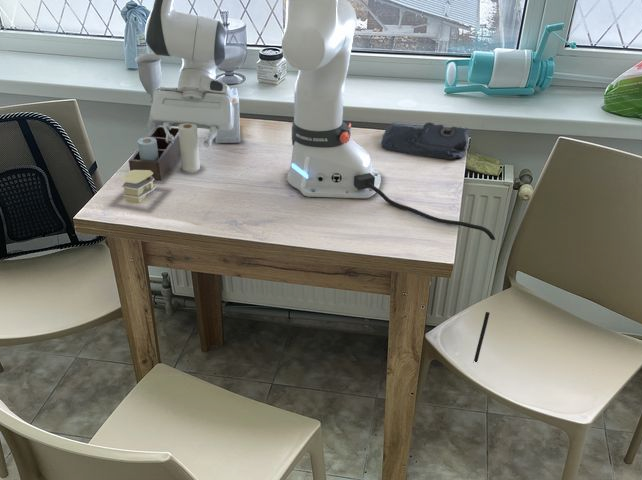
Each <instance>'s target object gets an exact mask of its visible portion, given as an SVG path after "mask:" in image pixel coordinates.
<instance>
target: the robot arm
mask: <svg viewBox="0 0 642 480" xmlns="http://www.w3.org/2000/svg"><path fill="white" fill-rule="evenodd" d="M173 3H174V0H154V3H153V6H152V9H151V11H150V13H149V14H148V17H147V20H146V22H145V28H144V38H145V43H146V45H147V46H148V47H149V49H150V50H151V52H153V54H156V55H160V56H161V57H162V56H164V57H175V58H179V59H181V61H182V64H181V68H180V69H179V73H178V80H177V81H178V82H177V86H163V85H162V86H160V87H159V88H158V89H156V90H155V91H154V94H153V103H151V107H150V111H149V119H150V118H151V120H152V121H153V123H154V124H155V125H162V126H163V128H164V130H165V133H166V142H167V143H171V144H173V142H174V141H173V140H174V136H173V135H172V134H170V133H169V130H171V127H178V126H179V125H180V124H183V123H193V124H196V125H197V129H200V130H201V129H202V130H210V133H209V135H208V136H204V138H203V140H204V141H203V146H204V147H210V148H211V147H212V144H213V140H214V139H215V136H216V135H217V134H218V130H226V131H230V130H231V129H232V128H233V125H234V108H233V105H232V103H231V102H232V99H233V97H232V93H231V90H230V89H231V88H230V87H229V86H228V84H227V83H225V82H222V81H219V80H218V79H217V75H216V72H217V71H216V70H217V67H218V66H220V65H221V64H222V62H224V61H225V59H226V58H225V57H226V52H225V51H226V47H227V43H228V37H229V34H228V31H227V29H226V27H225V26H224V24H223V23H222V21H220V20H218V19H216V18H212V17H208V16H203V15H198V14H197V15H196V14H193V13H187V12H182V11H179V10H175V8H173ZM285 3H286V5H285V6H286V8H285V26H284V32H283V35H282V39H281V51H282V54H283V57H284V59H285V60H286V62H287V63H288V64H289V65H290V66H291V68H293V69H295V70H298V73H297V78H296V81H295V83H294V90H293V93H294V97H293V98H294V99H293V100H294V101H293V104H294V105H293V107H294V109H293V121H292V125H291V145H292V153H291V160H290V165H289V169H288V173H287V175H286V181H287V183H288V184H289V185H290V186H291V187H293V188H295V189H296V190H298V191H299V192H300V193H301V194H302V195H303V196H305V197H308V198H309V197H311V198H341V199H343V198H344V199H369V198H372V197H373V196H374V195H375V194H378V195H379V196H380V197H381V198H382V199H383V200H384V201H385V202H386V203H388V204H389V205H390V206H393V207H396V208H397V209H401V210H405V211H407V212H411V213H413V214H415V215H418V216H419V217H422V218H424V219H427V220H430V221H433V222H435V223H441V224H445V225H453V226H461V227H466V228H469V229H473V230H478V231H482V232H484V233H485V234H486V235H487V236H488V237H489V239H490V240H492V241H495V240H496V237H495V235H494V234H493V233H492V231H491V230H490V229H488V228H487V227H485V226H482V225H478V224H473V223H469V222H465V221H461V220H453V219H444V218H440V217H436V216H433V215H430V214H427V213H425V212H424V211H421V210H419V209H416V208H413V207H410V206H408V205H405V204H401V203H398V202H396V201H394V200H393V199H391V198H389V197H388V196H387V195H386V194H385V193H384V192H383V191H382V190H380V187H381V183H382V178H381V177H382V175H381V174H380V172H379V171H378V170H377V169H374V168H373V162H372V159H371V158H372V157H371V155H370V153H369V152H368V151H367V150H366V149H364V148H363V147H362V146H360V145H359V144H358V143H357V142H355V141H354V140H353V139H352V138H351V133H352V131H351V129H352V123H351V122H349V123H348V124H347V123H346V122H345V121H344V120H343V115H344V98H345V88H346V87H345V86H346V80H347V76H348V71H349V65H350V60H351V53H352V48H353V43H354V42H353V41H354V36H355V32H356V29H357V23H358V22H357V21H358V18H357V14H356V10H355V7H354V6H353V5H352V3H350V2H349V1H348V0H286V2H285ZM490 314H491V313H490V312H488V311H485V314H484V318H483V323H482V327H481V330H480V334H479V338H478V343H477V346H476V350H475V355H474V359H473V362H474V361H475V362H477V361H478V362H479V358H480V353H481V350H482V346H483V341H484V337H485V333H486V330H487V326H488V322H489V319H490V318H489V317H490ZM478 362H477V363H478Z"/></svg>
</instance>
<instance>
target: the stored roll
mask: <svg viewBox="0 0 642 480" xmlns="http://www.w3.org/2000/svg"><path fill="white" fill-rule="evenodd" d="M137 148H139V155H140V160H146V161H158V159H159V156H158V148H157V140H156V139H155V138H152V137H148V136H146V137H141V138H139V139H138V140H137Z"/></svg>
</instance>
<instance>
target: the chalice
mask: <svg viewBox="0 0 642 480" xmlns="http://www.w3.org/2000/svg"><path fill="white" fill-rule="evenodd" d="M134 60H135V62H136V64H137V70H138V77H139V81H140V83H141V85H142V87H143V89H144V91H145V92H146V94H148V95H150V97H151V99H150V103H151V104H152V103H153V94H154V91H155V90H156V89H158V88H160V87H161V83H162V77H163V76H162V75H163V74H162V68H161V61H162V55H156V54H155V53H145V54H141V55H137V56H136V57H135V58H134ZM146 126H147V129H149V130H153V129H154V128H155V127H156V126H162V125H155V124H154V123H153V121H152V120H151V118H150V117H149V119H148V121H147V125H146Z"/></svg>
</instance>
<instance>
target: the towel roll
mask: <svg viewBox="0 0 642 480" xmlns="http://www.w3.org/2000/svg"><path fill="white" fill-rule="evenodd" d="M178 131H179V141H180V151H181V152H180V159H181V160H180V161H181V167H182V169H181V170H183V171H184V172H192V173H193V172H196V171H199V170H200V169H201V159H200V149H199V148H200V145H199V137H198V128H197V125H196V124H193V123H183V124H180V125H179V126H178Z"/></svg>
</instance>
